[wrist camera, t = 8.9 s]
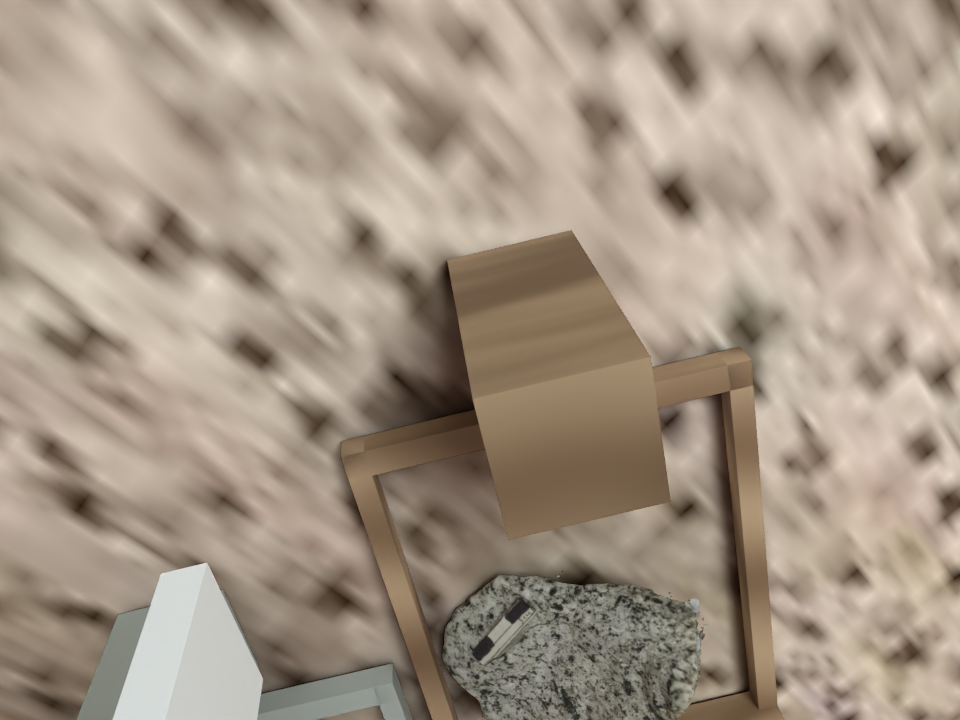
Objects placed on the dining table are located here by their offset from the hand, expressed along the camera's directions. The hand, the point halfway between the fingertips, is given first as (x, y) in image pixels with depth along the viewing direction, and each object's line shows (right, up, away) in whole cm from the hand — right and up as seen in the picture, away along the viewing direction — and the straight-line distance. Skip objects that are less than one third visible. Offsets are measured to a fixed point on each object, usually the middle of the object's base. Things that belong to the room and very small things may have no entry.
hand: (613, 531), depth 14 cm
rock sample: (0, -8, +21) cm, 22 cm away
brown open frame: (+1, -4, +18) cm, 18 cm away
